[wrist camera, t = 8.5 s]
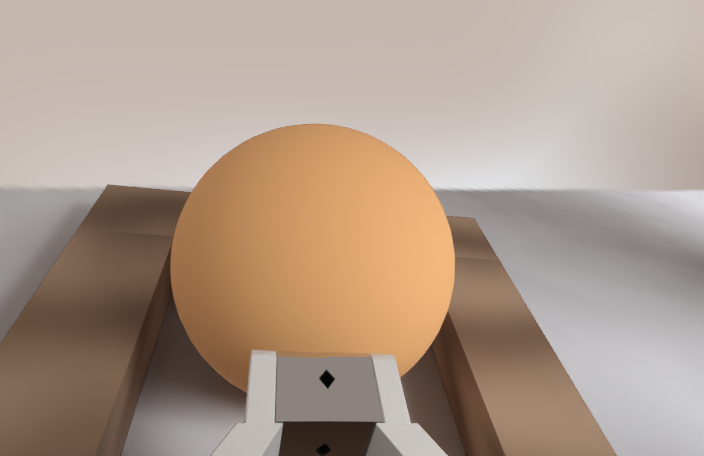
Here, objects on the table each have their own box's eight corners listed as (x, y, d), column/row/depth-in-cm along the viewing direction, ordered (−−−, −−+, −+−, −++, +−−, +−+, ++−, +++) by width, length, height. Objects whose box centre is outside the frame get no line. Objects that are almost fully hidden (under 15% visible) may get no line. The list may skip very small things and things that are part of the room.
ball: (432, 360, 9) (338, 518, 15) (534, 152, 16) (440, 321, 23) (67, 145, 11) (121, 361, 18) (296, 47, 18) (274, 228, 25)
